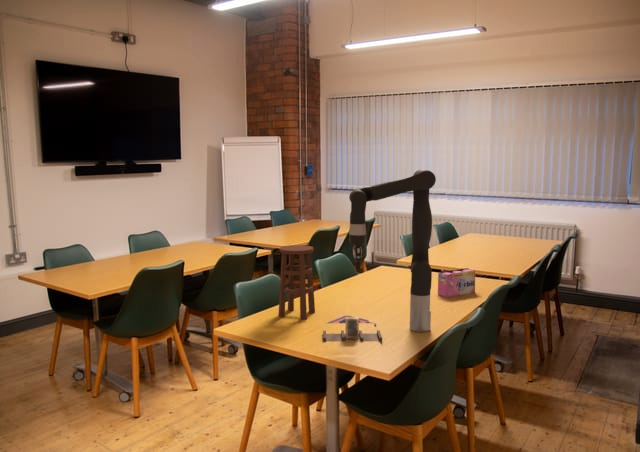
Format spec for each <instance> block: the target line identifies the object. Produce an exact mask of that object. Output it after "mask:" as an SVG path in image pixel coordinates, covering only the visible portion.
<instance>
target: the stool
mask: <svg viewBox="0 0 640 452" xmlns="http://www.w3.org/2000/svg"><path fill="white" fill-rule="evenodd" d="M278 249H279V250H278V251H279V253H281V261H280V278H279V279H280V282H279V297H278V298H279V301H278V317H279V318H280V319H281V318H285V317H286V295H287V311H289V312H291V311H295V295H299V315H300V316H299V319H300V320H301V321H307V319H308V315H307V303H308V313H310V314H316V306H315V305H316V304H315V291H314V275H313V262H312V253H314V247H313V246H311V245H306V244H304V245H303V244H292V245H283V246H280V247H279V248H278ZM295 255H298V260H299V261H298V262H299V263H298V264H295ZM305 258H306V260H305ZM287 259H288V261H287ZM305 262H306V263H305ZM287 263H288V265H287ZM287 276H288V279H287ZM295 276H299V282H295ZM306 278H307V279H306ZM287 280H288V281H287ZM295 287H299V289H295ZM307 297H308V298H307ZM307 299H308V300H307ZM307 301H308V302H307Z"/></svg>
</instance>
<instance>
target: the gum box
mask: <svg viewBox="0 0 640 452" xmlns="http://www.w3.org/2000/svg"><path fill="white" fill-rule="evenodd" d="M437 275H438V276H437V295H439V296H441V297H444V298H449V297H450V298H451V297H457V296H461V295H467V294H468V295H469V294H473V293H476V270H475V269H474V270H471V269H470V268H468V267H467V268H458V269H453V270H452V269H451V270H444V271H439V272H438V273H437Z"/></svg>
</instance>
